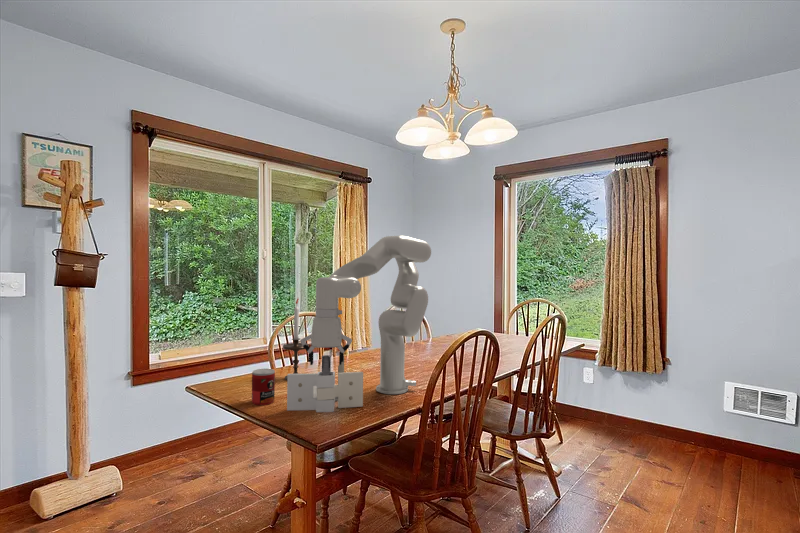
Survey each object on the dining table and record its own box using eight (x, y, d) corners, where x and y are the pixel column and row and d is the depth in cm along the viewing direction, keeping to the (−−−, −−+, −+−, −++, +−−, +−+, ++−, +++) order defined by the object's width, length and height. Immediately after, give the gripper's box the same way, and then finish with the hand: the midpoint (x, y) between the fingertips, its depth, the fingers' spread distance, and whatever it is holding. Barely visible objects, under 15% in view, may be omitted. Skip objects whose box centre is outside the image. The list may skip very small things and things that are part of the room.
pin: (330, 407, 146) (331, 355, 146) (329, 410, 143) (330, 357, 143) (321, 407, 145) (322, 355, 145) (320, 410, 142) (321, 357, 142)
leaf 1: (334, 406, 147) (335, 371, 147) (333, 411, 141) (334, 375, 141) (288, 407, 145) (289, 372, 146) (285, 412, 140) (286, 376, 140)
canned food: (262, 407, 145) (262, 374, 145) (246, 402, 149) (247, 371, 149) (279, 401, 152) (279, 370, 152) (264, 397, 156) (264, 367, 156)
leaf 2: (361, 403, 150) (361, 370, 150) (363, 408, 144) (364, 374, 144) (316, 406, 146) (316, 372, 146) (317, 411, 140) (317, 376, 140)
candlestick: (313, 377, 184) (315, 297, 184) (295, 383, 175) (296, 298, 175) (295, 374, 190) (297, 296, 190) (277, 379, 180) (278, 297, 180)
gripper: (352, 312, 149) (351, 361, 149) (302, 312, 147) (301, 361, 147) (352, 315, 141) (351, 366, 141) (299, 314, 139) (298, 366, 139)
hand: (326, 364), depth 144 cm, fingers open, 9 cm apart
